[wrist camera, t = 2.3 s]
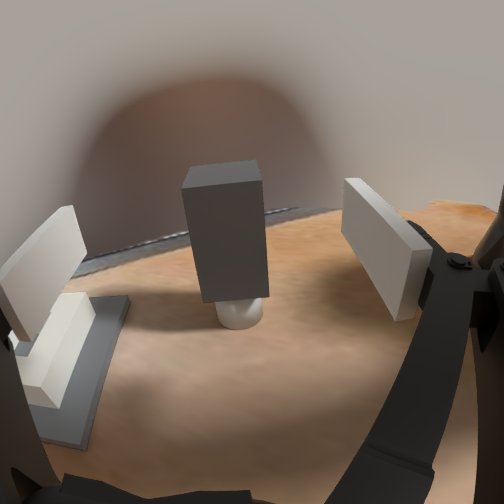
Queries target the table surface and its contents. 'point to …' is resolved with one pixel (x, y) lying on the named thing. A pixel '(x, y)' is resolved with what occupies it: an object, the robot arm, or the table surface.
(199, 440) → the table surface
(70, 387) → the socket
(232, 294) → the plug
